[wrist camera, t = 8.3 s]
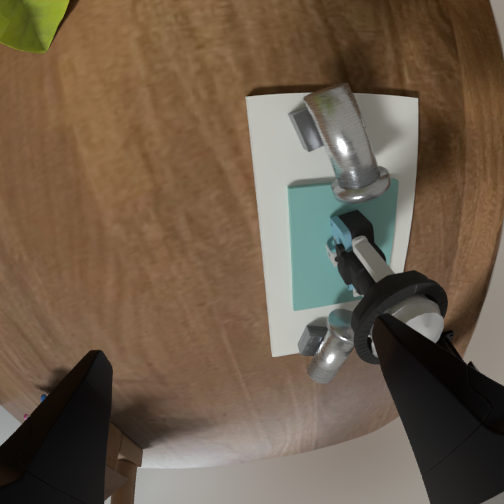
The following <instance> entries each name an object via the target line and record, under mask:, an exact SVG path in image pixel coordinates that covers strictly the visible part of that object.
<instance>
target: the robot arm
mask: <svg viewBox="0 0 504 504" xmlns="http://www.w3.org/2000/svg"><path fill="white" fill-rule="evenodd" d="M453 336H454V332H453V331H448V332H446V333H443V334H441V335H440V337H439V339H438V341H437V342H436V343H434V342H433V341H431V340H430V339H428V338H427V337H425V336H424V335H422V334H421V333H419V332H417V331H416V330H414V329H413V328H411V327H410V326H408V325H407V324H405V323H403V322H402V321H400V320H399V319H397V318H396V317H394V316H392V315H391V314H389V313H383V314H379V315H377V316H376V317H375V320H374V325H373V329H372V340H373V343H374V346H375V350H376V353H377V356H378V359H379V363H380V366H381V369H382V373H383V376H384V378H385V381H386V383H387V386H388V388H389V391H390V393H391V395H392V398H393V400H394V403H395V405H396V408H397V410H398V413H399V415H400V418H401V420H402V423H403V425H404V428H405V431H406V433H407V436H408V439H409V441H410V444H411V446H412V449H413V452H414V455H415V458H416V461H417V463H418V466H419V469H420V472H421V475H422V479H423V481H424V485H425V488H426V491H427V494H428V497H429V500H430V504H504V386H503V385H501V384H499V383H497V382H495V381H493V380H492V379H490V378H488V377H486V376H485V375H483V374H482V373H480V372H479V370H478V369H477V368H476V367H475V365H474V364H473V363H472V362H471V361H470V362H469V363H468V365H467V364H466V363H465V362H464V361H463V359H462V358H461V356H460V355H459V353H458V352H457V350H456V349H455V347H454V346H453V345H452V343H451V340H452V338H453ZM112 376H113V369H112V366H111V364H110V362H109V361H108V359H107V357H106V356H105V354H104V353H103V351H101V350H91V351H89V352H88V353H87V354H86V355H85V356H84V357H83V358H82V359H81V360H80V361H79V362H78V364H77V365H76V366H75V367H74V368H73V369H72V370H71V371H70V372H69V373H68V374H67V375H66V376H65V377H64V378H63V379H62V381H61V382H60V383H59V384H58V385H57V386H56V387H55V388H54V389H53V390H52V391H51V392H50V394H49V395H48V396H47V397H46V398H45V399H44V400H43V401H42V402H41V403H40V405H39V406H38V407H37V408H36V409H35V410H34V411H33V412H32V413H31V415H30V416H29V417H28V418H27V419H26V420H25V421H24V423H23V424H22V425H21V426H20V427H19V428H18V429H17V430H16V432H14V433H13V434H12V435H11V436H10V437H9V439H7V440H6V441H5V442H4V443H3V444H2V445H1V446H0V504H104V491H105V469H106V455H107V443H108V433H109V424H110V416H111V402H112Z"/></svg>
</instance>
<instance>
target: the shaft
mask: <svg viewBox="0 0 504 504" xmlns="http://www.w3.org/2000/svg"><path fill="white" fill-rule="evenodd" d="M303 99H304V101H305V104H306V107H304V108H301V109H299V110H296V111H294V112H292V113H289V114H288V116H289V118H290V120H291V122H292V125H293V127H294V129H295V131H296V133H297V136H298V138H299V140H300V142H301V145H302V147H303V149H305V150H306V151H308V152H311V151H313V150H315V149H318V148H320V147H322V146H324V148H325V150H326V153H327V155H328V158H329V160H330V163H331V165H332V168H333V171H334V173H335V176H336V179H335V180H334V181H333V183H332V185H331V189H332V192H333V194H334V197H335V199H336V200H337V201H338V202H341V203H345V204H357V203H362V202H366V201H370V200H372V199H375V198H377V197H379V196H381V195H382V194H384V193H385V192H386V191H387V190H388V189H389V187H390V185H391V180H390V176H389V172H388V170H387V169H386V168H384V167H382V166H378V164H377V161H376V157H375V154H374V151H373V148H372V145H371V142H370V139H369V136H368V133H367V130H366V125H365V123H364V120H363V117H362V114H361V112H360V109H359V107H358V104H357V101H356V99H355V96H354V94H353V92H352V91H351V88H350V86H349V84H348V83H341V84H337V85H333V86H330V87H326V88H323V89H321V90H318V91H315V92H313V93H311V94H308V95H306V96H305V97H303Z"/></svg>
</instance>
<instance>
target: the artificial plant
mask: <svg viewBox="0 0 504 504" xmlns="http://www.w3.org/2000/svg"><path fill="white" fill-rule="evenodd" d="M68 3H69V0H0V43H2V44H4V45H7V46H9V47H12V48H14V49H17V50H22V51H27V52H33V53H45V52H47V50H48V49H49V46H50V44H51V41H52V39H53V37H54V35H55V32H56V29H57V27H58V25H59V23H60V21H61V20H62V18H63V16H64V14H65V11H66V9H67V6H68Z"/></svg>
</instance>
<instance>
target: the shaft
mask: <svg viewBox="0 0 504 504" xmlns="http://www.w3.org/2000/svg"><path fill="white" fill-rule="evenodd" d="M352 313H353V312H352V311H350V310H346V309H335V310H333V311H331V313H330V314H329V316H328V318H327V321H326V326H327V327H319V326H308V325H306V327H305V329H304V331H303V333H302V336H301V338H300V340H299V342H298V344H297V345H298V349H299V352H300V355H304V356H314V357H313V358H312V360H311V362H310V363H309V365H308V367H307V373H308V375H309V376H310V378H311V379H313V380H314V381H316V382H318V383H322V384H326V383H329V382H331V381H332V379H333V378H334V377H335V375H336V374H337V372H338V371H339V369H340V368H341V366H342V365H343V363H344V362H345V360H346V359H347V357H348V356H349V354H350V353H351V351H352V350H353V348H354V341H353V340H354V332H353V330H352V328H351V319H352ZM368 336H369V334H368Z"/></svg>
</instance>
